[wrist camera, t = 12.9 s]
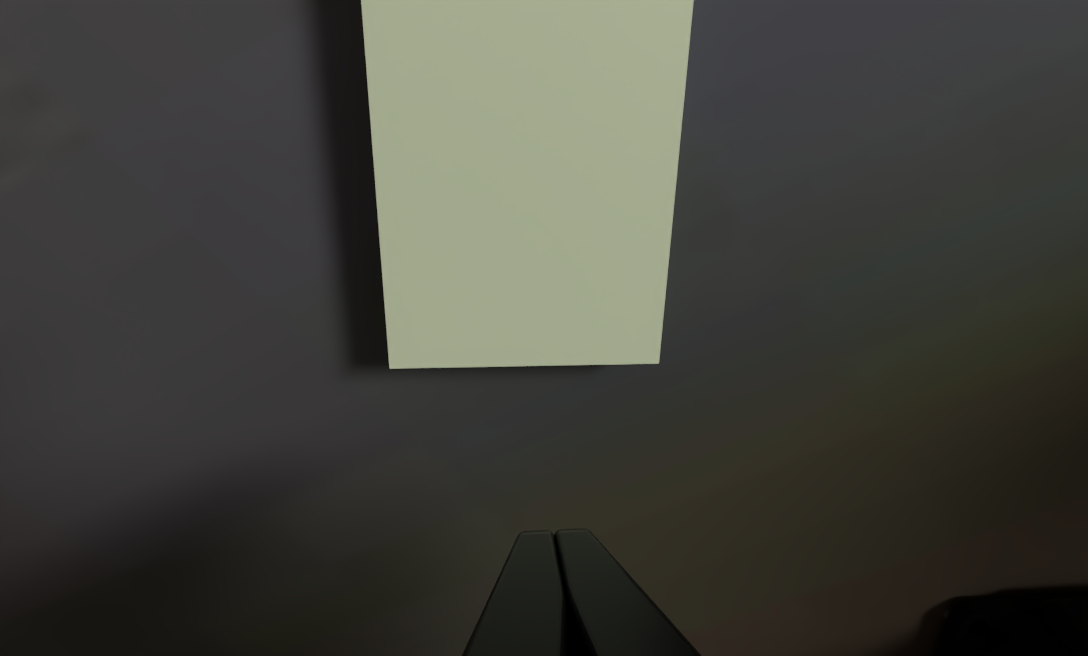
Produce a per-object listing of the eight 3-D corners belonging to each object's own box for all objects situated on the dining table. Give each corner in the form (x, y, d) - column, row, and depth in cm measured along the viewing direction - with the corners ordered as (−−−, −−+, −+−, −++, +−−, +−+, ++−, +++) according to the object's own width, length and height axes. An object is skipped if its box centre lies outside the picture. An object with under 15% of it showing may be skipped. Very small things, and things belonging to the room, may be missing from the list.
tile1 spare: (659, 363, 13) (706, -140, 10) (389, 369, 13) (348, -154, 10) (641, 329, 15) (678, -120, 11) (398, 332, 14) (366, -132, 11)
